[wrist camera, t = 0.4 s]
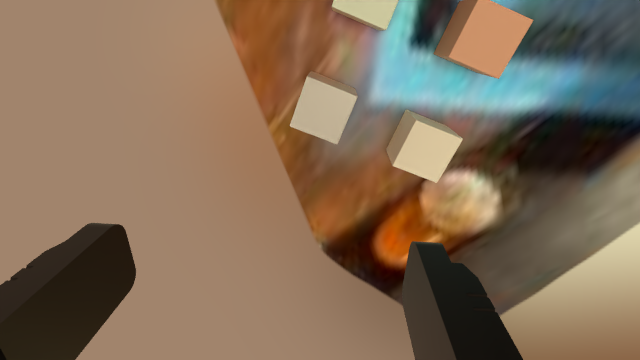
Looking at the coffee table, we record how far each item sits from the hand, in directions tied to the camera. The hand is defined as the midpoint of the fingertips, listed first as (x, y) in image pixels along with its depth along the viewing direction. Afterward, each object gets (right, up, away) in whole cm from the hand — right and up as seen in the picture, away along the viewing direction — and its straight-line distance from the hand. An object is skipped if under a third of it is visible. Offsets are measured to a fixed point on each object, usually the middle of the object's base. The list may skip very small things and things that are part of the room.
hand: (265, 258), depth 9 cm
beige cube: (+2, +11, +26) cm, 28 cm away
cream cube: (+12, +7, +27) cm, 31 cm away
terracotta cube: (+16, +16, +23) cm, 33 cm away
